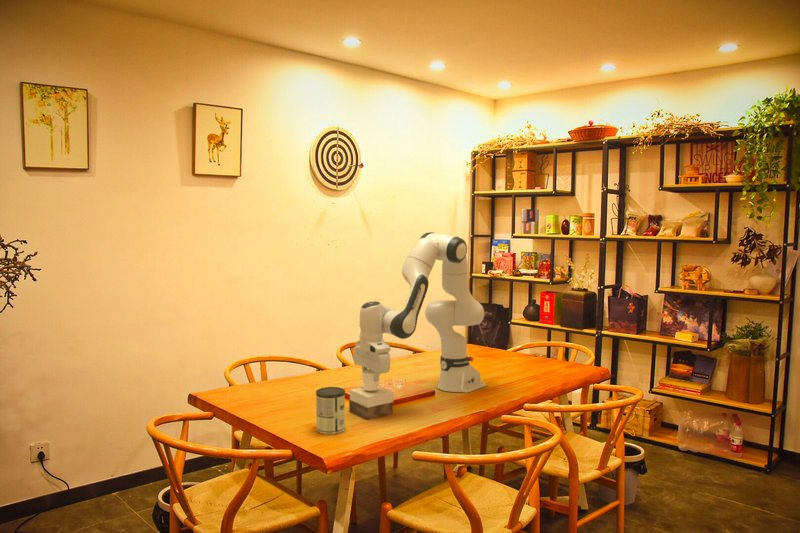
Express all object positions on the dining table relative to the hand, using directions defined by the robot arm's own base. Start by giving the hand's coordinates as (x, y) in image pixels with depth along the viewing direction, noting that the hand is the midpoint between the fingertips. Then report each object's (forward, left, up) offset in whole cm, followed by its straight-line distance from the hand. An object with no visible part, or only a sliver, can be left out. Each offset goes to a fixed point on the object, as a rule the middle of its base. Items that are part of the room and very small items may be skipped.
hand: (371, 379), depth 239 cm
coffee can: (+22, +7, -13) cm, 27 cm away
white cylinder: (0, 0, -4) cm, 4 cm away
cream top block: (0, 0, -8) cm, 8 cm away
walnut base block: (0, 0, -13) cm, 13 cm away
